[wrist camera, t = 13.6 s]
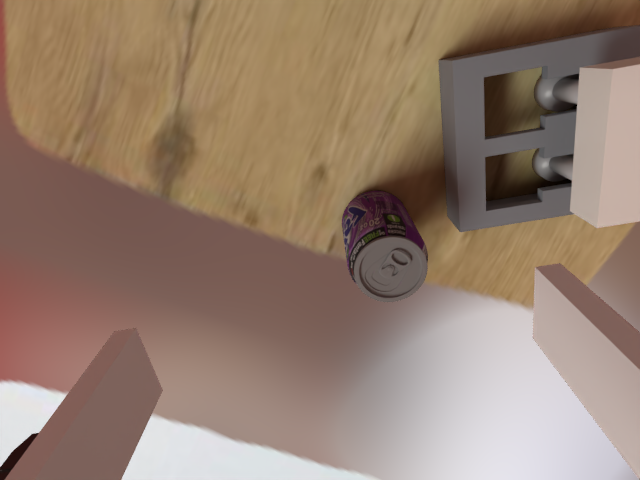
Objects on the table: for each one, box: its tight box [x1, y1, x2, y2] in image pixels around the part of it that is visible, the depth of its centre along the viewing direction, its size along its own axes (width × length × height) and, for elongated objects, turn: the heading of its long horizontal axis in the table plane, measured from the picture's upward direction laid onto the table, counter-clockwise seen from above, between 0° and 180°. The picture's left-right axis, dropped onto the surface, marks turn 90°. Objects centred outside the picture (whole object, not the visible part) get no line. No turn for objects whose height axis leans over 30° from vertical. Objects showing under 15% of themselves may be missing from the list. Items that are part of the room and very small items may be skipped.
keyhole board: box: [439, 25, 640, 232], centre depth 40 cm, size 16×16×4 cm
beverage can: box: [342, 191, 428, 302], centre depth 41 cm, size 7×7×12 cm
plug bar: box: [532, 57, 640, 228], centre depth 37 cm, size 12×4×12 cm, turn 10°
